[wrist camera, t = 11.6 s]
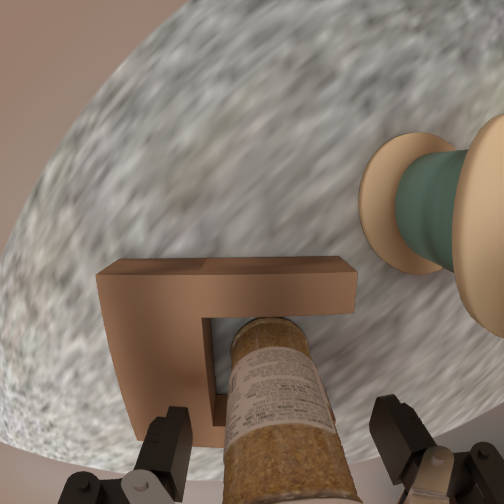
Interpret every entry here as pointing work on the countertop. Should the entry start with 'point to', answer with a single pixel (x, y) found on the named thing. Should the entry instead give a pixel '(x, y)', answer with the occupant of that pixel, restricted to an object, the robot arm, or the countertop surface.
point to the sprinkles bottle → (280, 423)
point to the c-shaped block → (202, 324)
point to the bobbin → (442, 213)
